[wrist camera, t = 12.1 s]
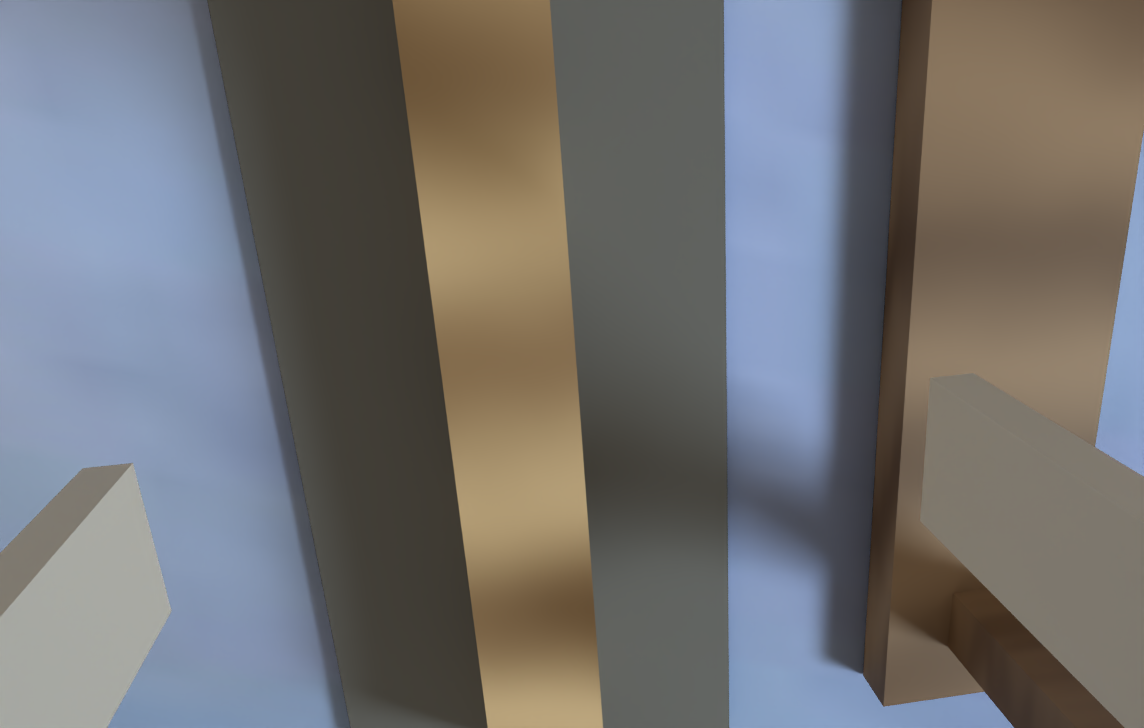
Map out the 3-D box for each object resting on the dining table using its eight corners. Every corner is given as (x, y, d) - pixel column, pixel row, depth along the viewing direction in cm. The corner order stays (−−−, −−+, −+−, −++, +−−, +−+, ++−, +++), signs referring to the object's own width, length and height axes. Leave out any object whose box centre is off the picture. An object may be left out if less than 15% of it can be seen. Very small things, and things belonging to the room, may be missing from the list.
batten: (590, 723, 28) (610, 826, 24) (496, 737, 28) (503, 844, 24) (505, -333, 18) (518, -432, 15) (361, -328, 18) (336, -426, 14)
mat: (724, 719, 29) (728, 730, 29) (363, 772, 28) (361, 784, 28) (714, -380, 19) (720, -391, 18) (141, -364, 18) (133, -375, 17)
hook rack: (1030, 651, 30) (1476, 1117, 17) (759, 690, 29) (1007, 1215, 16) (1167, -340, 20) (2467, -1058, 7) (767, -326, 19) (1413, -1116, 6)
